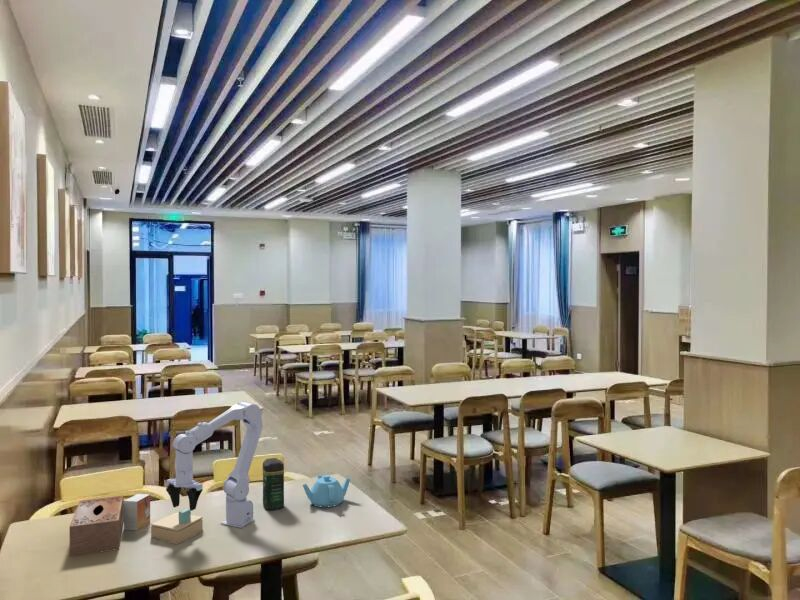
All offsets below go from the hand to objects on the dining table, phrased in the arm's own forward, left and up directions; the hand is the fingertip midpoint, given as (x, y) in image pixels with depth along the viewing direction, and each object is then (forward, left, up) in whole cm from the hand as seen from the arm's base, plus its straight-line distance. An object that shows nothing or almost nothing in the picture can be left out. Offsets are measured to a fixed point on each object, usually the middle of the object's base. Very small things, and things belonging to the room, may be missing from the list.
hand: (184, 508), depth 208 cm
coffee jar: (-12, -36, -10) cm, 39 cm away
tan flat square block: (+3, 0, -5) cm, 7 cm away
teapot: (-29, -48, -10) cm, 57 cm away
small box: (+22, 0, -10) cm, 25 cm away
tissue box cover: (+26, +13, -10) cm, 31 cm away
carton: (+3, 0, -10) cm, 10 cm away
